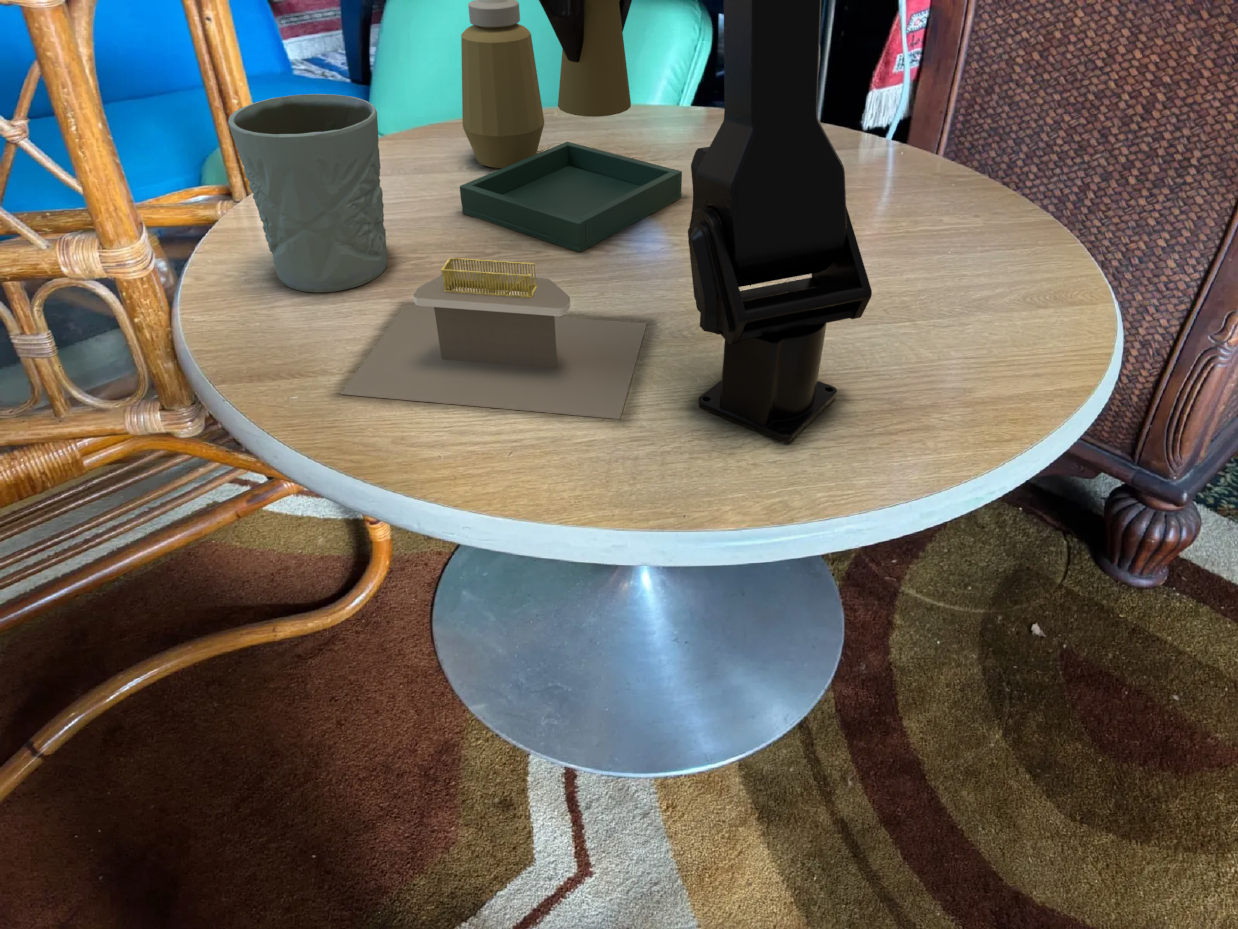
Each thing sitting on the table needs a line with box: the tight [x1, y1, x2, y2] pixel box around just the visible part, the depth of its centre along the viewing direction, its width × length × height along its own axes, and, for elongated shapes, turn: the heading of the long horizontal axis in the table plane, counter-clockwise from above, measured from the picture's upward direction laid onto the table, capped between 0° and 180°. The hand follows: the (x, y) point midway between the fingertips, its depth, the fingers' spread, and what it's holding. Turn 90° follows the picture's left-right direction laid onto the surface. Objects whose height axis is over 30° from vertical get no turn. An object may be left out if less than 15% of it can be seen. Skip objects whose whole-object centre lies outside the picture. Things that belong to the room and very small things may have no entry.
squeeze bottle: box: [460, 0, 545, 169], centre depth 85 cm, size 8×8×18 cm
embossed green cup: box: [227, 93, 389, 293], centre depth 68 cm, size 10×10×12 cm
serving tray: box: [459, 141, 683, 253], centre depth 80 cm, size 15×14×2 cm
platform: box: [340, 257, 648, 420], centre depth 58 cm, size 12×18×7 cm, turn 81°
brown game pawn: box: [557, 0, 632, 118], centre depth 70 cm, size 6×6×11 cm
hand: (593, 55), depth 71 cm, fingers closed on brown game pawn, 4 cm apart
